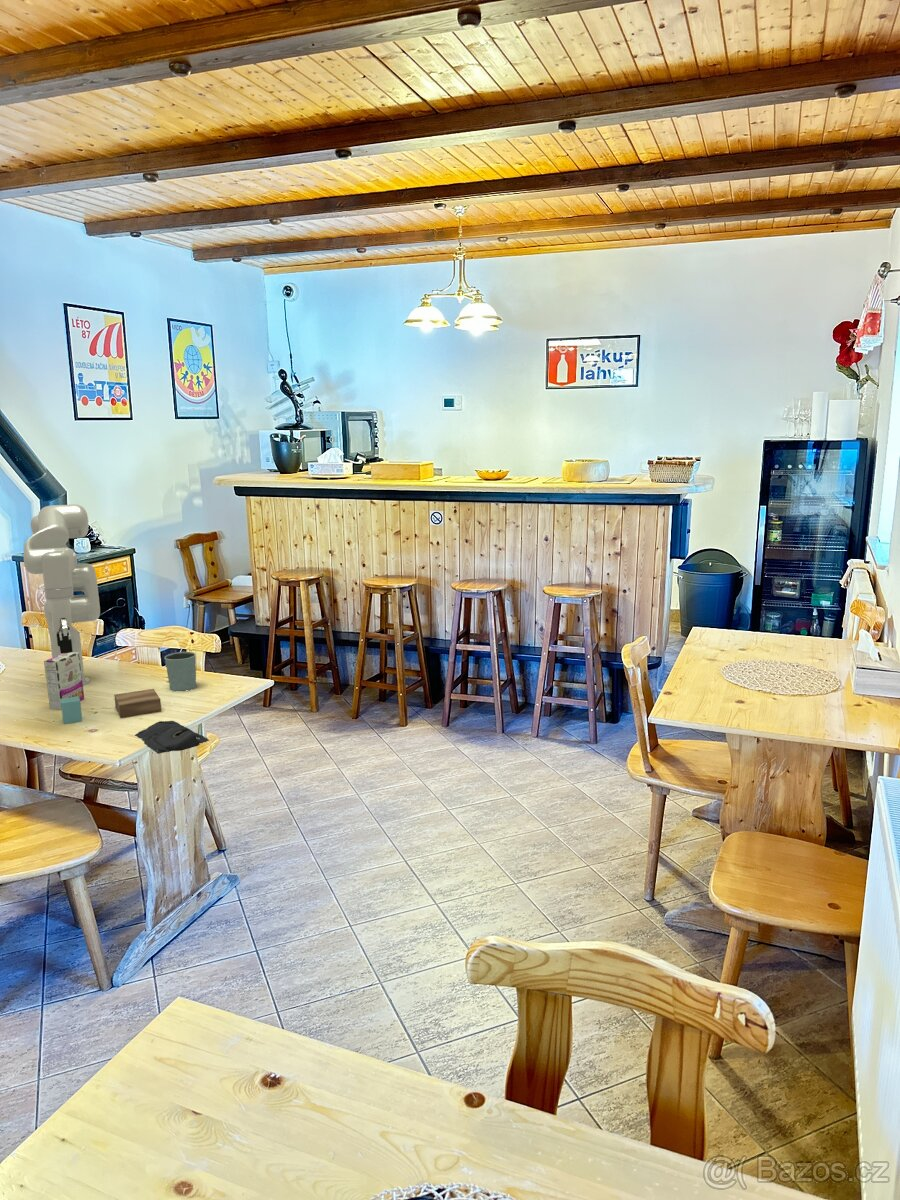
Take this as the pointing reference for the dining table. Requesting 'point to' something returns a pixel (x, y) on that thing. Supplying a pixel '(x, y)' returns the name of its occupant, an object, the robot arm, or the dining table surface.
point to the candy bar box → (63, 678)
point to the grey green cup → (181, 670)
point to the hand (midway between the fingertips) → (65, 649)
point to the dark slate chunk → (169, 737)
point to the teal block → (71, 710)
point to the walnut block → (137, 703)
